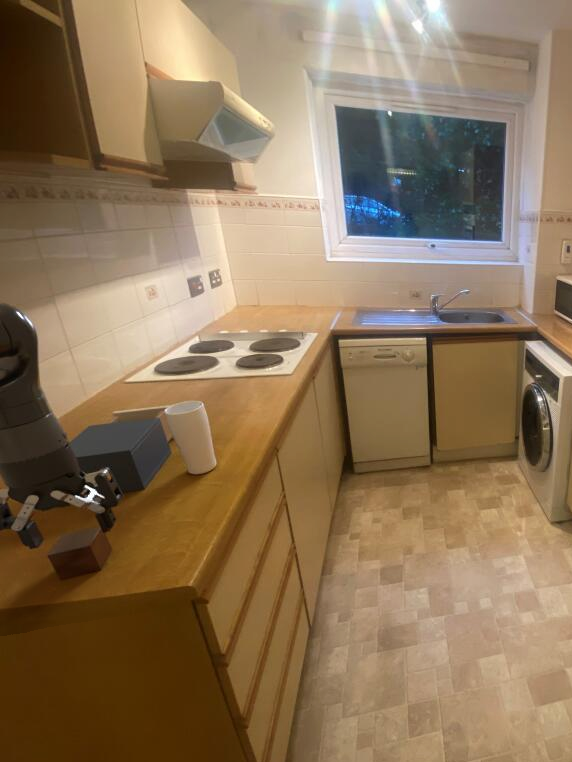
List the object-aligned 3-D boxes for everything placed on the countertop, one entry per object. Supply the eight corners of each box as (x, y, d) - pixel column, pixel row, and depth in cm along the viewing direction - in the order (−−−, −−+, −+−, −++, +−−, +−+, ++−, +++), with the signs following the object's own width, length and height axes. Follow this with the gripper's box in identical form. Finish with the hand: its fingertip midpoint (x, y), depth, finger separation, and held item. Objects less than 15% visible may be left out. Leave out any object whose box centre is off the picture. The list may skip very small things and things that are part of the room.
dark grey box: (104, 462, 97) (89, 425, 94) (171, 452, 101) (159, 417, 97) (66, 502, 84) (46, 461, 81) (144, 489, 88) (129, 450, 84)
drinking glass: (180, 480, 91) (158, 416, 85) (189, 463, 97) (169, 403, 91) (217, 473, 93) (199, 411, 88) (224, 457, 99) (206, 398, 93)
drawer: (132, 430, 109) (122, 404, 106) (186, 424, 112) (178, 398, 109) (95, 468, 93) (83, 438, 90) (159, 459, 97) (149, 430, 94)
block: (60, 580, 67) (46, 555, 65) (74, 558, 71) (62, 534, 69) (101, 570, 69) (89, 545, 67) (112, 549, 73) (102, 525, 71)
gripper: (-59, 472, 56) (-2, 568, 62) (84, 448, 61) (123, 538, 67) (-23, 445, 62) (26, 534, 68) (104, 425, 67) (138, 510, 73)
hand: (74, 536), depth 68 cm, fingers open, 8 cm apart
